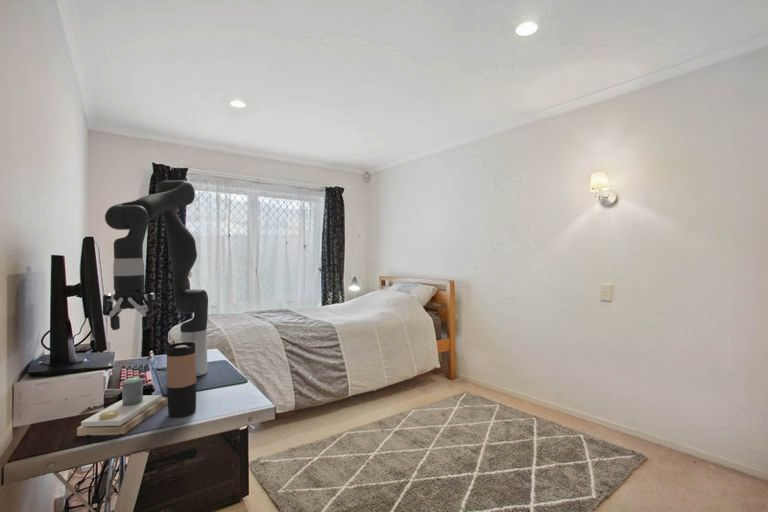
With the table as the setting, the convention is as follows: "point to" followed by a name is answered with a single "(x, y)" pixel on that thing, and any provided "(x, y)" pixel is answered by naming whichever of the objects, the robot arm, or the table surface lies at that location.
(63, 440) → the table surface
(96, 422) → the plate
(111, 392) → the caliper
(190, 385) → the travel mug
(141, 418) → the oak base
